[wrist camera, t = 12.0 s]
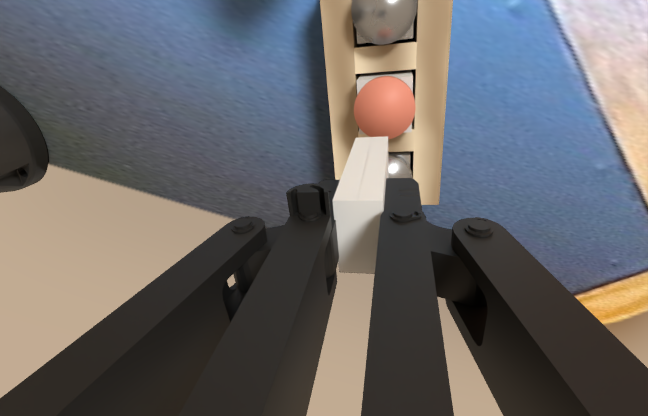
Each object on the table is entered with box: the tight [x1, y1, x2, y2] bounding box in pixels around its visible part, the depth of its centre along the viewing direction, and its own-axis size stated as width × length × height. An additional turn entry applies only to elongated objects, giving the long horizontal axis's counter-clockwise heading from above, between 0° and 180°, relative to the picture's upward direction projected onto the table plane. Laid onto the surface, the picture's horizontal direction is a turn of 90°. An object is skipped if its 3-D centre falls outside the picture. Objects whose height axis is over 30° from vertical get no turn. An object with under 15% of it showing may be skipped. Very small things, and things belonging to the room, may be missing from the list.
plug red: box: [354, 70, 416, 139], centre depth 29 cm, size 5×5×6 cm
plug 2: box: [388, 151, 412, 178], centre depth 34 cm, size 5×5×6 cm
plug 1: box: [351, 0, 417, 45], centre depth 27 cm, size 5×5×6 cm
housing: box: [320, 0, 453, 205], centre depth 31 cm, size 10×20×5 cm, turn 6°
